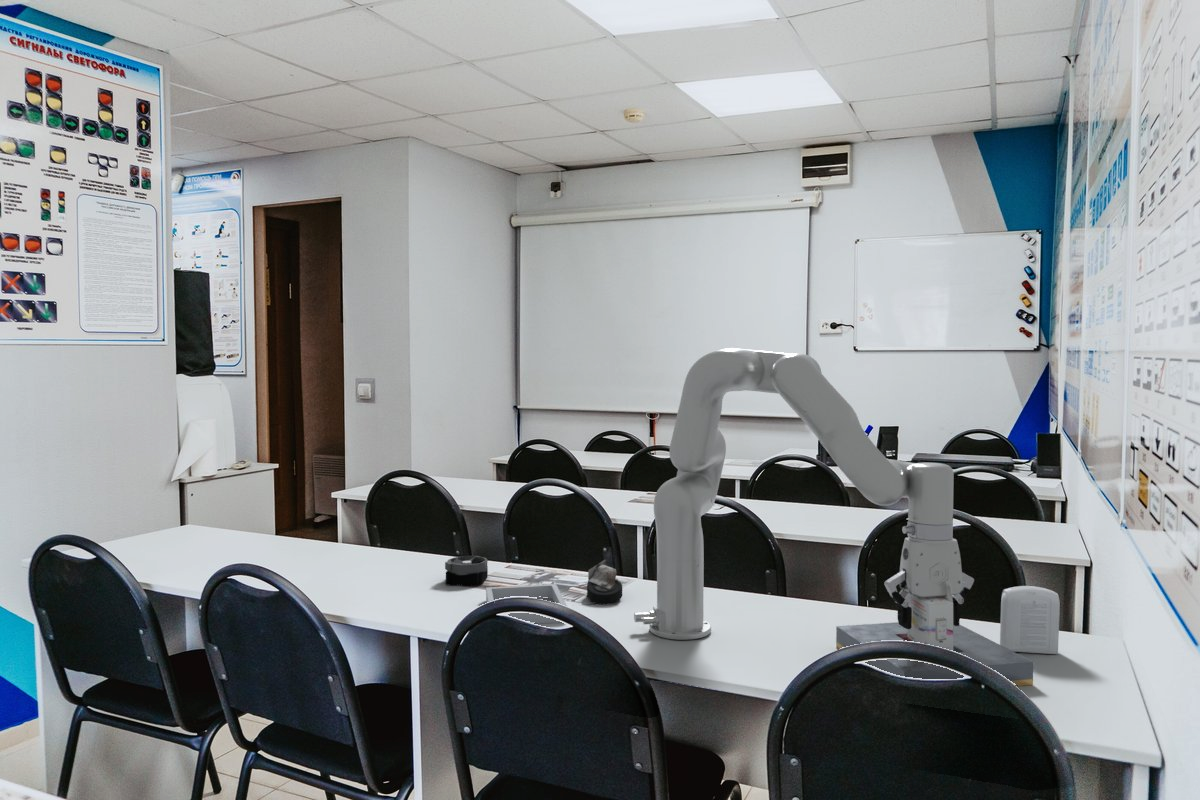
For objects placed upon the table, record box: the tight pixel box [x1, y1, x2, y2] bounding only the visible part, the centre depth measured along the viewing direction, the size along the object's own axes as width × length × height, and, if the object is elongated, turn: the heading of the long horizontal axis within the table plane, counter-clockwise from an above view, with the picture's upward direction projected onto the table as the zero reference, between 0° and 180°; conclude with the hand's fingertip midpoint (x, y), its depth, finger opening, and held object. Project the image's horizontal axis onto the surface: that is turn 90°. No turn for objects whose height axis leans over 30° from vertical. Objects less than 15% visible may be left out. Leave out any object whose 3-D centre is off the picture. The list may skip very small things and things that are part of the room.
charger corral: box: [485, 583, 568, 624], centre depth 183 cm, size 16×19×3 cm
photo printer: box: [999, 585, 1061, 655], centre depth 156 cm, size 10×4×12 cm, turn 81°
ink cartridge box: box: [907, 583, 953, 650], centre depth 149 cm, size 9×5×15 cm, turn 5°
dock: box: [835, 621, 1034, 687], centre depth 149 cm, size 24×24×4 cm
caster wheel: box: [586, 559, 623, 605], centre depth 193 cm, size 7×11×10 cm
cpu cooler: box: [444, 555, 489, 587], centre depth 208 cm, size 10×6×10 cm
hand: (928, 625), depth 149 cm, fingers open, 9 cm apart
